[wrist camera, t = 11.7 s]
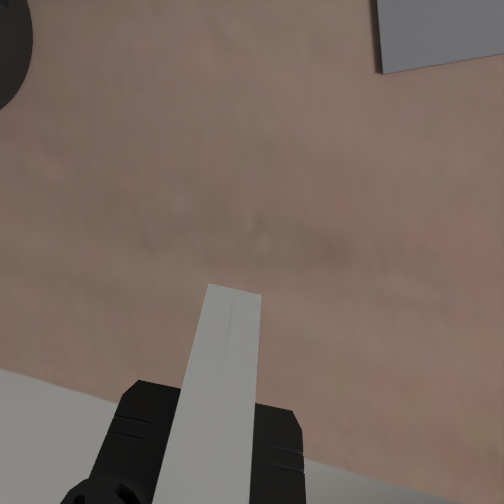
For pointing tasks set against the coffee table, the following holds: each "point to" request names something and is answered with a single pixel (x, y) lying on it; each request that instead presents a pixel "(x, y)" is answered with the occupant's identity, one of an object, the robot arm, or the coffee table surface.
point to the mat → (438, 32)
